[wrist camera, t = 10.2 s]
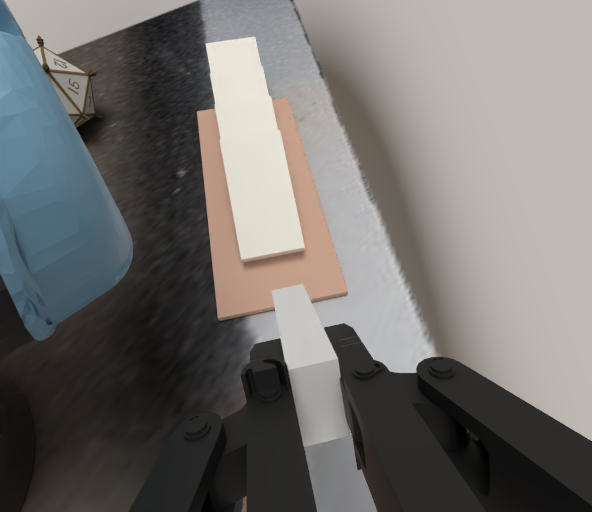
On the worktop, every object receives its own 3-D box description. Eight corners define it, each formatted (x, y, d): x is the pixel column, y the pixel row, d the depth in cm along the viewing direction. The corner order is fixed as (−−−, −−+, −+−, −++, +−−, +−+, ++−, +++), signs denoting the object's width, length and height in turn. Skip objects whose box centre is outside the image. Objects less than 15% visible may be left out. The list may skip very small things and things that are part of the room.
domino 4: (305, 247, 27) (280, 129, 28) (241, 259, 27) (219, 139, 28) (303, 251, 29) (280, 139, 30) (243, 262, 28) (222, 148, 30)
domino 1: (273, 127, 34) (254, 36, 35) (222, 135, 33) (205, 43, 35) (274, 135, 35) (256, 48, 37) (224, 143, 35) (208, 55, 36)
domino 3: (293, 202, 29) (270, 95, 31) (234, 213, 29) (214, 104, 30) (292, 208, 31) (271, 106, 32) (236, 218, 30) (217, 114, 32)
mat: (346, 294, 27) (347, 291, 27) (219, 321, 26) (217, 318, 26) (287, 102, 39) (287, 97, 38) (198, 116, 38) (197, 111, 38)
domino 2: (283, 164, 31) (262, 66, 33) (228, 174, 31) (210, 74, 32) (283, 171, 33) (263, 77, 34) (230, 180, 33) (213, 85, 34)
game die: (78, 162, 40) (-37, 121, 32) (89, 95, 42) (-20, 39, 34) (120, 145, 35) (-5, 91, 27) (130, 69, 37) (14, -4, 28)
